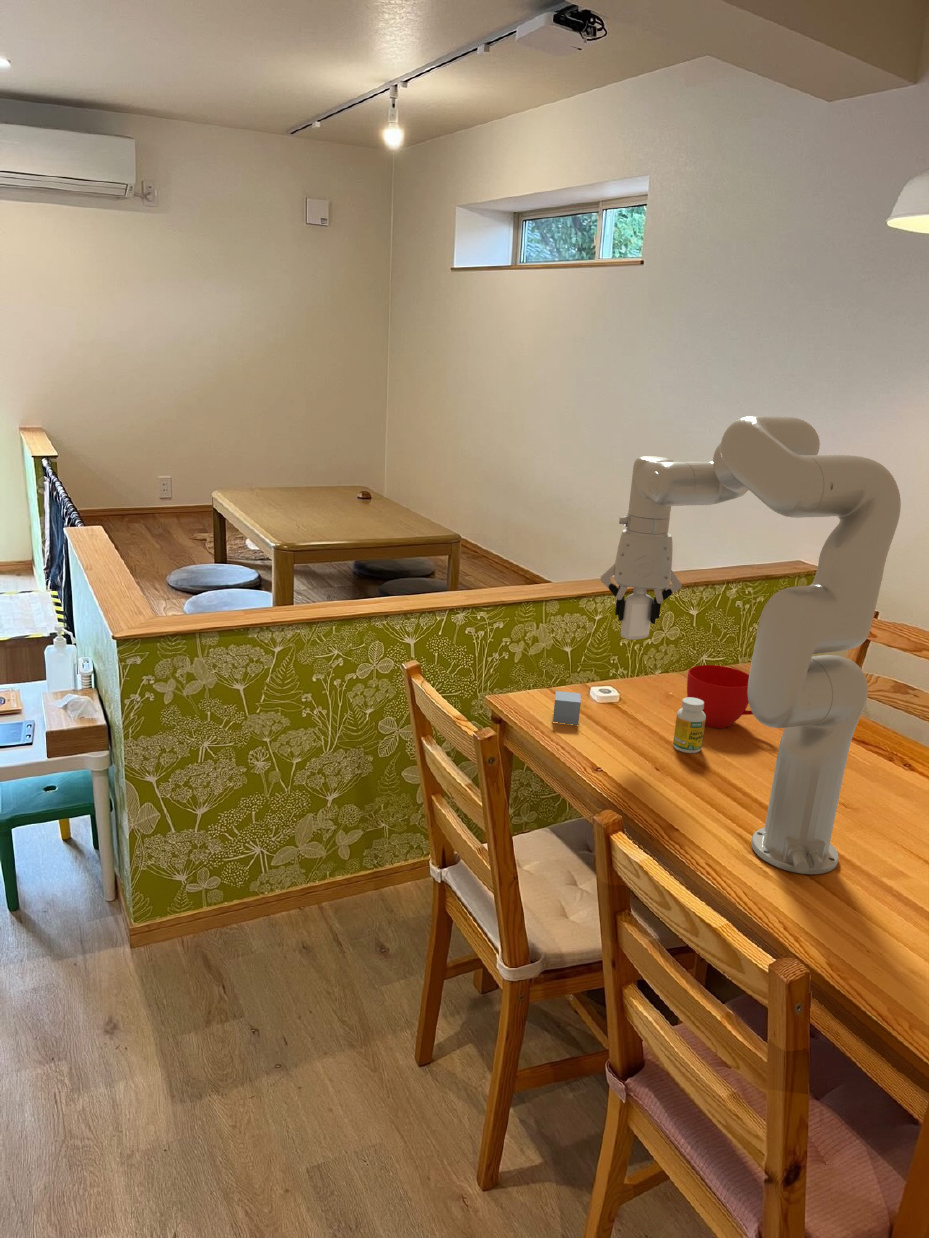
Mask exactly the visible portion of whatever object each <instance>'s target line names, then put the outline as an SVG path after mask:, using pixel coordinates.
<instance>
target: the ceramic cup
mask: <svg viewBox="0 0 929 1238" xmlns="http://www.w3.org/2000/svg"><path fill="white" fill-rule="evenodd" d="M749 674H750V673H747V672H745V671H742V670H739V669H737V668H733V667H729V666H722V665H715V664H714V665H713V664H703V665H701V664H700V665H696V666H693V667H691V668H690V669H688V672H687V681H686V695H687V696H686V698H687V697H692V698H698V699H700V700H702V701H703V702H704V709H703V710H702V711H703V712H704V713H705V715H706V720H705V726H706V727H711V728H717V729H724V728H728V727H730V726H731V725H732V724H734V723H736V721H738V720H739V719H740V718H741V717H742V716H746V715H747V716H751V715H753V713H752V711H751V710H746V709H747V708H748V705H749V701H748V680H749Z"/></svg>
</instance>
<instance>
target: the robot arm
mask: <svg viewBox="0 0 929 1238" xmlns="http://www.w3.org/2000/svg"><path fill="white" fill-rule="evenodd" d="M819 436H820V435H819V434H818V433H817V431H816V429H815V428H814V427H813V426H812V424H810V423H809V422H807V421H805V420H804V419H801V418H798V417H793V416H792V417H791V416H766V415H762V416H761V415H752V416H751V415H748V416H744V417H741V418H739V419H736V420H735V421H734V422H732V423H731V424H730V425H729V426H728V427H727V428H726V430H725V431H724V433H723V436H722V438H721V441H720V443H719V444H718V446H716V448H715V450H714V452H713V457H712V461H674V460H673V459H671V458H669V457H664V456H663V457H662V456H655V455H654V456H653V455H643V456H639V457H637V458H636V459H635V460H634V463H633V466H632V467H633V468H632V477H631V485H630V492H629V493H630V494H629V495H630V496H629V502H628V504H629V505H628V510H627V511H628V512H627V515H625V516H619V520H618V522H619V523H618V525H623V526H624V527H626V528H625V529H622V532H621V535H620V537H619V542H618V547H617V551H616V555H615V562H614V564H613V565H612V566H611V567H610V568H608V569H607V570H606V571H605V572H604V573H603V574H602V575H600V582H601V583H602V584H603V585H604V586H606V587H607V589H608V590H609V591H610V593H612V595H613V596H614V597H615V598H616V599H615V601H616V603H615V610H614V615H616V616H617V617H618V619H617V620H618V621H620V622H622V620H623V614H624V605H625V599H626V598H625V594H626V592H627V589H628V588H634V587H635V588H647V590H653V591H654V598H652V599H653V603H652V611H651V619H650V621H651V622H650V624H652V625H655V624H656V621H657V619H660V613H661V605H662V603H664V601H666V600H667V599H668V598H669V597H671V596H672V595H673V594H674V593H676V592H677V591H679V590H681V588H682V587H683V584H682V582H681V581H680V579H678V576H676V574H675V573H674V571H673V570H672V567H673V550H674V549H673V535H671V533H669V525H670V519H671V511H672V507H680V506H712V505H716V504H720V503H721V504H722V503H724V502H728V501H731V500H734V499H737V498H740V497H743V496H744V495H745V494H746V493H747V492H748V491H749V492H751V493H752V494H753V495H754V496H755V497H757V499H758V500H760V501H761V502H762V503H763V504H764V505H765V506H766V507H767V508H769V509H770V510H772V511H773V512H774V513H777V514H779V515H780V516H784V517H786V518H787V517H788V518H797V519H798V518H799V519H800V518H825V517H826V518H828V517H837V518H838V519H839V522H838V524H837V525H836V526H835V527H834V529H833V530H832V531H831V533H829V535H828V537H827V538H826V540H825V542H824V544H823V546H822V547H821V550H820V552H819V557H818V564H817V569H816V572H815V576H814V578H813V581H812V583H811V584H809V585H802V586H801V585H799V586H791V587H786V588H783V589H780V590H779V591H777V592H776V593H774V594H773V595H772V596H771V597H770V598H769V599H768V601H767V602H766V603H765V605H764V607H763V609H762V611H761V613H760V617H759V621H758V624H757V625H758V626H757V631H756V636H755V637H756V638H755V641H754V646H753V653H752V657H751V663H750V670H749V673H748V674H749V680H748V701H749V703H748V705H749V708H750V711H752V713H753V714H752V715H753V716H754V718H755V719H756V720H757V721H758V722H759V723H760V724H761V725H763V726H766V727H768V728H772V729H784V730H783V733H782V735H781V737H780V742H779V746H778V752H777V754H776V756H777V757H776V762H775V767H774V773H773V777H772V778H773V779H772V783H771V791H770V794H769V795H770V796H769V800H768V806H767V811H766V818H765V824H764V827H762V828H759V829H757V830H756V831H755V832H753V834H752V837H751V843H750V844H751V848H752V849H753V851H754V853H755V854H757V856H758V857H759V858H761V860H763V861H764V862H766V863H768V864H770V865H772V866H774V867H776V868H779V869H781V870H784V871H787V872H790V873H796V874H802V875H822V874H826V873H829V872H831V871H833V870H834V869H835V868H837V866H838V862H839V857H840V856H839V853H838V850H837V849H836V847H835V846H833V844H832V843H831V839H832V834H833V829H834V823H835V818H836V815H837V810H838V809H837V808H838V804H839V799H840V793H841V789H842V784H843V781H844V780H843V779H844V775H845V770H846V767H847V766H846V765H847V761H848V756H849V752H850V747H851V744H852V740H853V736H854V734H855V731H856V728H857V726H858V723H859V721H860V718H861V717H862V714H863V712H864V709H865V707H866V704H867V700H868V689H869V687H868V680H867V678H866V674H865V672H864V671H863V670H862V668H861V667H860V666H859V665H858V664H857V663H856V662H854V661H853V660H851V659H850V658H848V657H844V656H841V655H836V654H835V655H834V654H832V655H831V654H826V653H835V652H842V651H848V650H852V649H855V648H858V647H860V646H861V645H863V643H864V642H866V640H867V639H868V637H869V634H870V632H871V629H872V625H873V620H874V616H875V611H876V607H877V605H878V604H877V602H878V599H879V594H880V591H881V585H882V581H883V576H884V571H885V565H886V561H887V559H888V554H889V552H890V547H891V544H892V543H893V539H894V537H895V534H896V530H897V527H898V524H899V520H900V516H901V509H902V508H901V504H902V501H901V494H900V489H899V487H898V484H897V482H896V480H895V478H894V476H893V474H892V473H891V472H890V470H888V469H887V467H885V466H884V465H882V464H881V463H880V462H878V461H876V460H873V459H871V458H868V457H864V456H860V455H859V456H858V455H849V454H847V455H845V454H829V455H828V454H827V455H826V454H825V455H823V454H822V455H821V454H820V455H819V452H820V451H819V450H820V446H821V443H820V437H819ZM612 577H613V578H614V582H615V583H616V584H617V585H618V586H617V585H616V584H615V583H614V582H613V581H612V580H611V578H612ZM670 584H671V585H670ZM816 654H823V655H816ZM813 655H814V656H813Z"/></svg>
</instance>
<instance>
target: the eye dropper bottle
mask: <svg viewBox="0 0 929 1238" xmlns="http://www.w3.org/2000/svg"><path fill="white" fill-rule="evenodd" d="M647 591H648V589H647V588H635V587H633V592H632V593H631V594H629V595H627V596H626V597H625V598H624V599H625V605H624V614H623V620H622V621H621V628H620V637H622V638H624V639H627V640H641V639H646V638H648V637H649V635H650V629H651V621H650V619H651V611H652V603H653V599H654V598H653V597H652V596H651V595H649V594H647Z"/></svg>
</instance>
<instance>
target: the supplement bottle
mask: <svg viewBox="0 0 929 1238" xmlns="http://www.w3.org/2000/svg"><path fill="white" fill-rule="evenodd" d="M703 709H704V702H703V701H702V700H700V699H698V698H692V697H687V696H686V697H684V698H682V700H681V708H679V709H678V710H677V713H676V720H675V727H674V733H673V742H672V746H673V748H674V749H675V750H677V751H679V752H681V753H686V754H696V753H699V752H701V750H702V746H703V740H704V733H705V726H706V725H705V720H706V715H705V713H704V712H703V711H702V710H703Z"/></svg>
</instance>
